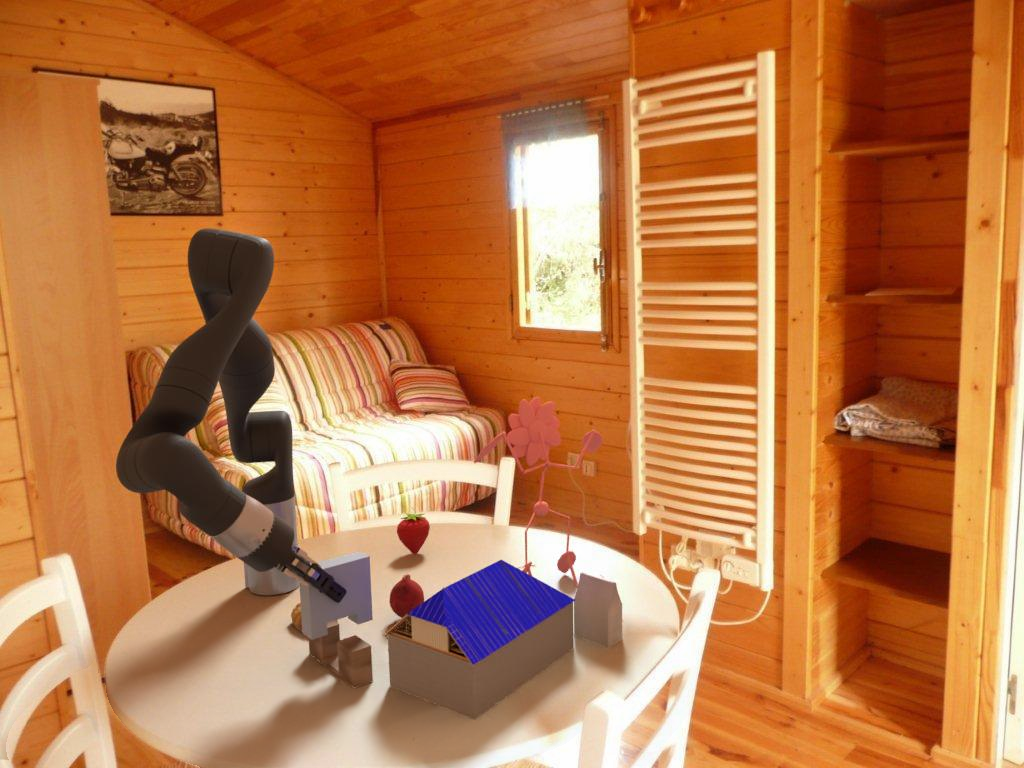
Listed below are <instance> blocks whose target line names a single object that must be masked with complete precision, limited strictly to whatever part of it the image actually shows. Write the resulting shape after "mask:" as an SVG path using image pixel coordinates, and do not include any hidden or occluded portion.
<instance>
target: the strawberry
mask: <svg viewBox="0 0 1024 768" xmlns="http://www.w3.org/2000/svg"><path fill="white" fill-rule="evenodd" d="M412 510H413V511H414V513H407V512H406V513H405V514H406V516H405V517H401V518H400V520H401V521H400V522H399V523H398V524H397V526H396V527H397V528H396V533H397V536H398V538H399V539H398V540H399V541H400V542H401V543H402V545H403V546H404V547H406V549H407V550H409V552H410V553H411V554H413V555H417V554H418V553H419V552H420V549H421V548H422V547H423V545H424V544H425V542H426V541H427V538H428V537H429V534H430V530H431V529H430V528H431V525H430V522H429V520H428V519H427V518H426V517H425V516H423V515H425V513H416V510H415V508H412Z"/></svg>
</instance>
